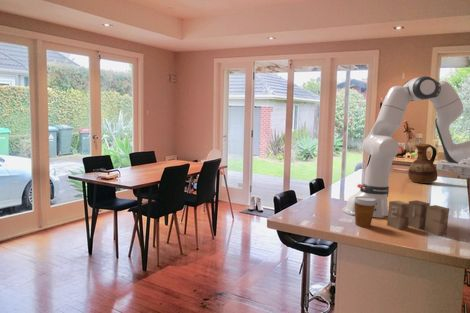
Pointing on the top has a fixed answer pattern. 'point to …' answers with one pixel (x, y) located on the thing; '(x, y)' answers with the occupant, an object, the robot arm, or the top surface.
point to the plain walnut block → (436, 220)
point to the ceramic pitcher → (423, 166)
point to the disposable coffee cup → (364, 210)
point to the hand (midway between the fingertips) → (450, 169)
